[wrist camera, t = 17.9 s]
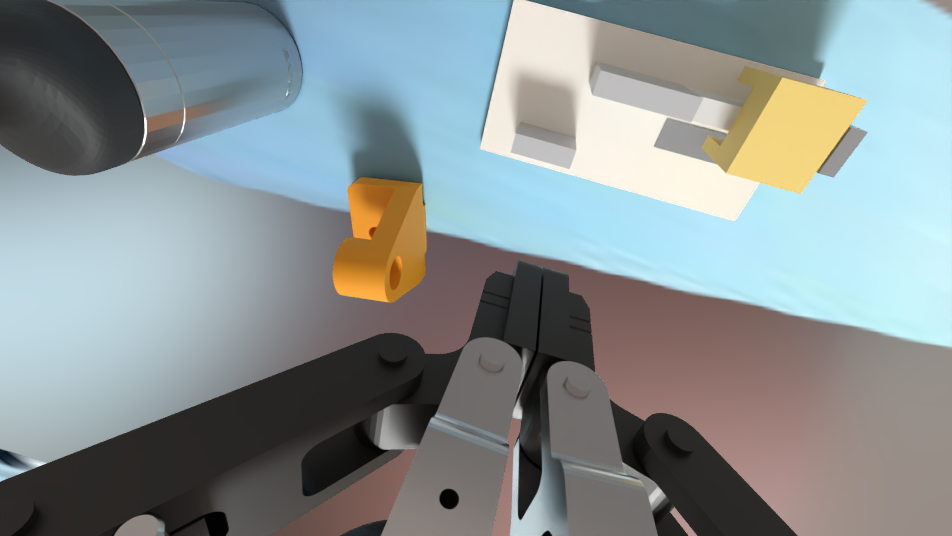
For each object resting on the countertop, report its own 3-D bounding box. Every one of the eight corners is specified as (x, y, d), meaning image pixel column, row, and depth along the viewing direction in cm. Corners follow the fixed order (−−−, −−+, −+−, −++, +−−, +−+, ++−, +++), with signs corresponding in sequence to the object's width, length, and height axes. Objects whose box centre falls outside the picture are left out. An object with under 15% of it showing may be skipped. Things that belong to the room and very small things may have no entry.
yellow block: (701, 147, 32) (725, 173, 27) (744, 65, 29) (782, 77, 24) (763, 164, 32) (800, 193, 27) (814, 84, 29) (867, 100, 24)
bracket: (358, 173, 43) (293, 222, 33) (424, 180, 42) (379, 233, 32) (368, 261, 49) (316, 325, 39) (427, 269, 48) (389, 337, 38)
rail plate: (481, 146, 39) (462, 175, 32) (515, -3, 32) (500, -7, 25) (731, 216, 38) (768, 264, 31) (819, 78, 31) (893, 98, 24)
